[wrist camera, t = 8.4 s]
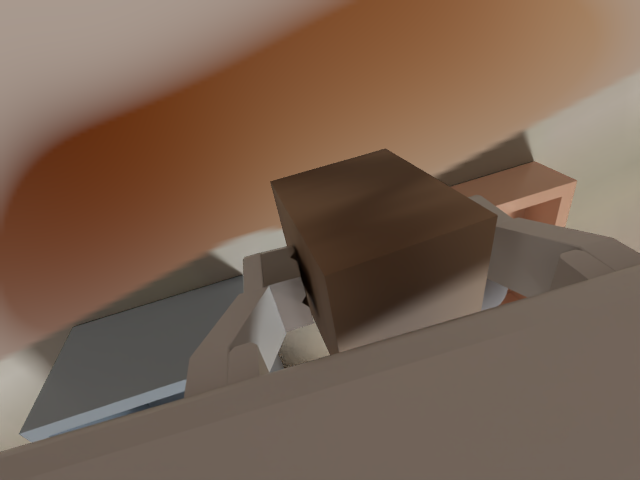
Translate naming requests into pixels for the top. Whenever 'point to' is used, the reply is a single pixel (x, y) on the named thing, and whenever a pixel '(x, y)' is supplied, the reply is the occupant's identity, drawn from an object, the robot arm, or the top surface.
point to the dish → (525, 197)
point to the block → (383, 247)
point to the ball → (493, 294)
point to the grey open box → (128, 361)
